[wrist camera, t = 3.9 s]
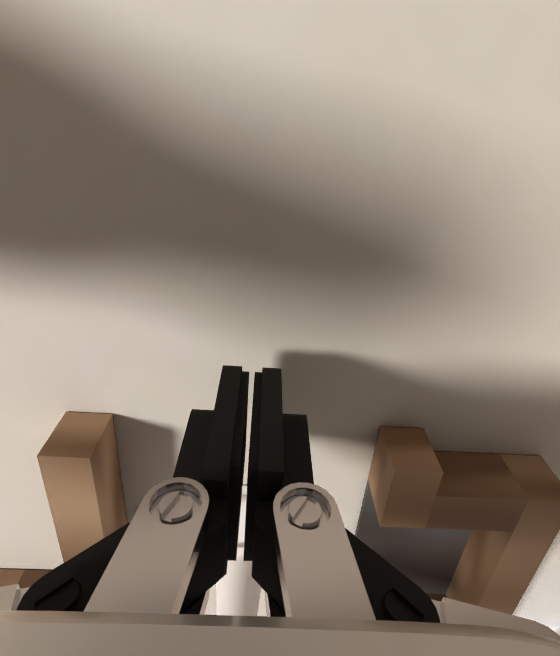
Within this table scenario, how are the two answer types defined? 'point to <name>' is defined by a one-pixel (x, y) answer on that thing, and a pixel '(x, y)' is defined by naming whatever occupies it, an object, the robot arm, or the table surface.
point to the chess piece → (238, 579)
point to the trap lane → (375, 517)
